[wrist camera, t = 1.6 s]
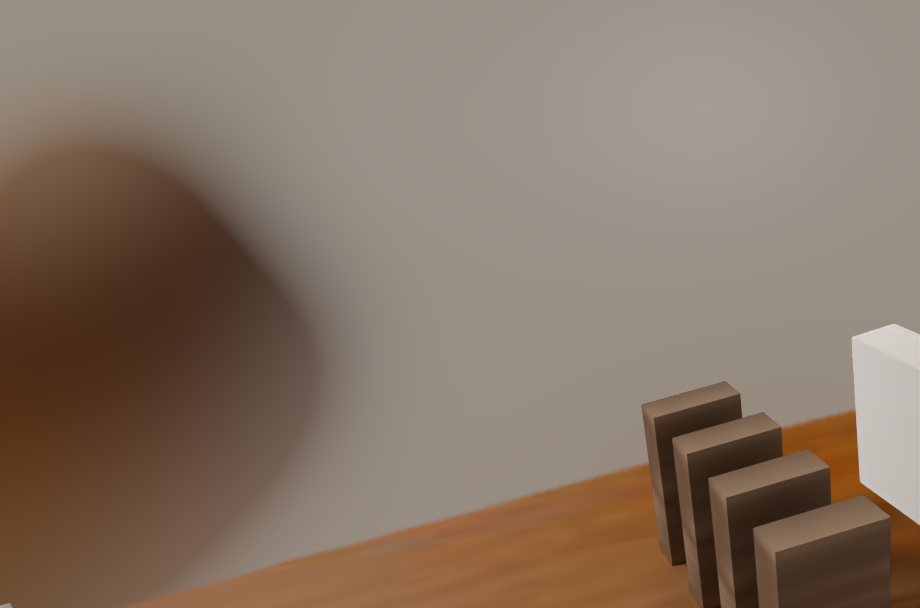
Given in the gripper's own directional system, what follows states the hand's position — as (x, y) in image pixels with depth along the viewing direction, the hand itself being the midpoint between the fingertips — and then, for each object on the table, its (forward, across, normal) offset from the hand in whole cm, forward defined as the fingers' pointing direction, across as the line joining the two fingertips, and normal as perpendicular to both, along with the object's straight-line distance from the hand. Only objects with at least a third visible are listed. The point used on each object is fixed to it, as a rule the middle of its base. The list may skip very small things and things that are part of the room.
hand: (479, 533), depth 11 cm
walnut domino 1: (+25, +15, -24) cm, 38 cm away
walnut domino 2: (+21, +14, -24) cm, 35 cm away
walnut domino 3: (+17, +14, -24) cm, 33 cm away
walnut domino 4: (+14, +14, -24) cm, 31 cm away
